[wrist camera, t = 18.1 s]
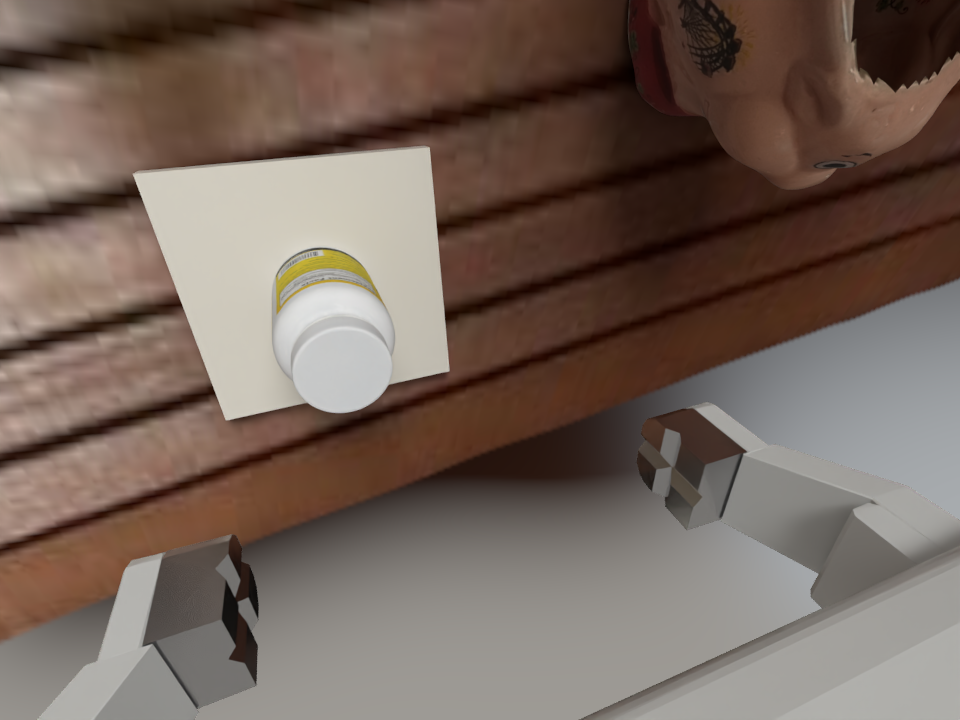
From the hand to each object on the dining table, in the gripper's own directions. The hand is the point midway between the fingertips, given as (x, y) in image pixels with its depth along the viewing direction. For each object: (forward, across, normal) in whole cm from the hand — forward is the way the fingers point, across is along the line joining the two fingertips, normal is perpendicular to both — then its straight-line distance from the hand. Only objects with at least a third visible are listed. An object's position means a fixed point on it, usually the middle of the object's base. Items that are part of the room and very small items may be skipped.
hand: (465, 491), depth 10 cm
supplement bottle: (+21, +2, +4) cm, 21 cm away
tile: (+22, +2, +4) cm, 22 cm away
